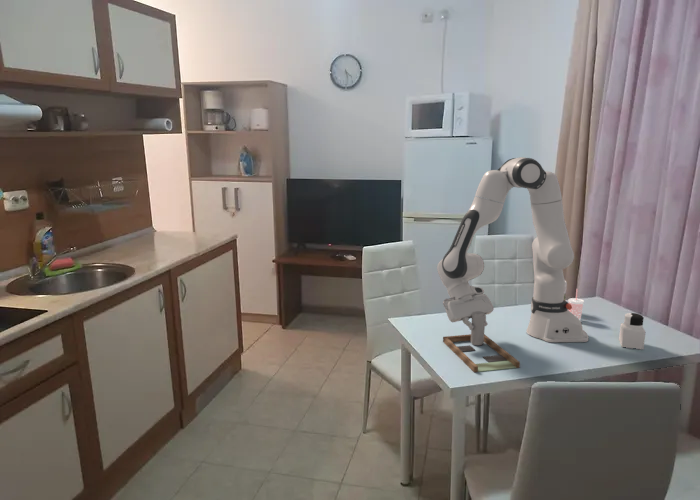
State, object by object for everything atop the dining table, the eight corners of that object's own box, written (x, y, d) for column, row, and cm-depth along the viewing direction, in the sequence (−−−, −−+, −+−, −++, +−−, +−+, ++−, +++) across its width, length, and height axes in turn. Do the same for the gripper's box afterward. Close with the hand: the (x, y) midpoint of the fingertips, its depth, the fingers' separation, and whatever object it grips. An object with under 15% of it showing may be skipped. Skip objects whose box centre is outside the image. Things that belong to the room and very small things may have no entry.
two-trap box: (442, 341, 194) (443, 336, 194) (482, 338, 197) (483, 333, 197) (474, 372, 168) (474, 366, 168) (519, 367, 171) (520, 362, 171)
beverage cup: (570, 317, 221) (572, 285, 218) (584, 320, 216) (587, 288, 213) (564, 320, 216) (566, 288, 213) (578, 324, 212) (581, 291, 209)
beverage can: (468, 341, 194) (470, 311, 192) (481, 340, 195) (482, 310, 192) (472, 346, 189) (474, 315, 187) (485, 345, 190) (487, 315, 187)
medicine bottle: (639, 342, 192) (643, 312, 189) (643, 350, 185) (647, 318, 183) (618, 340, 194) (621, 310, 192) (621, 347, 188) (625, 316, 185)
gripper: (445, 295, 189) (462, 328, 183) (485, 287, 199) (503, 318, 193) (437, 303, 194) (453, 336, 187) (477, 295, 204) (494, 326, 197)
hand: (479, 327), depth 190 cm, fingers closed on beverage can, 5 cm apart
